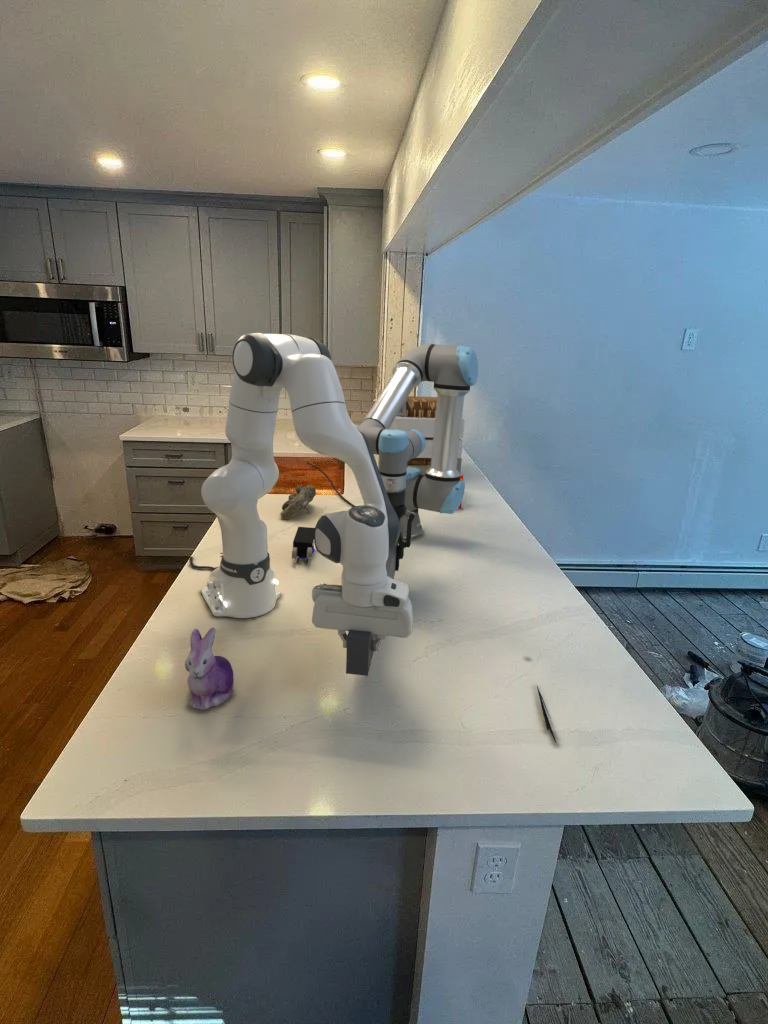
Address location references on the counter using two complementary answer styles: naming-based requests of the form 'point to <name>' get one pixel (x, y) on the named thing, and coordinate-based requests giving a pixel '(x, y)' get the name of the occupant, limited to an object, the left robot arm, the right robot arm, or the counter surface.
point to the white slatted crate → (422, 426)
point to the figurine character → (303, 544)
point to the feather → (545, 714)
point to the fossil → (298, 501)
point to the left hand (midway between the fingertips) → (361, 648)
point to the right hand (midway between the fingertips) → (388, 567)
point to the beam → (365, 634)
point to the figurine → (207, 672)
